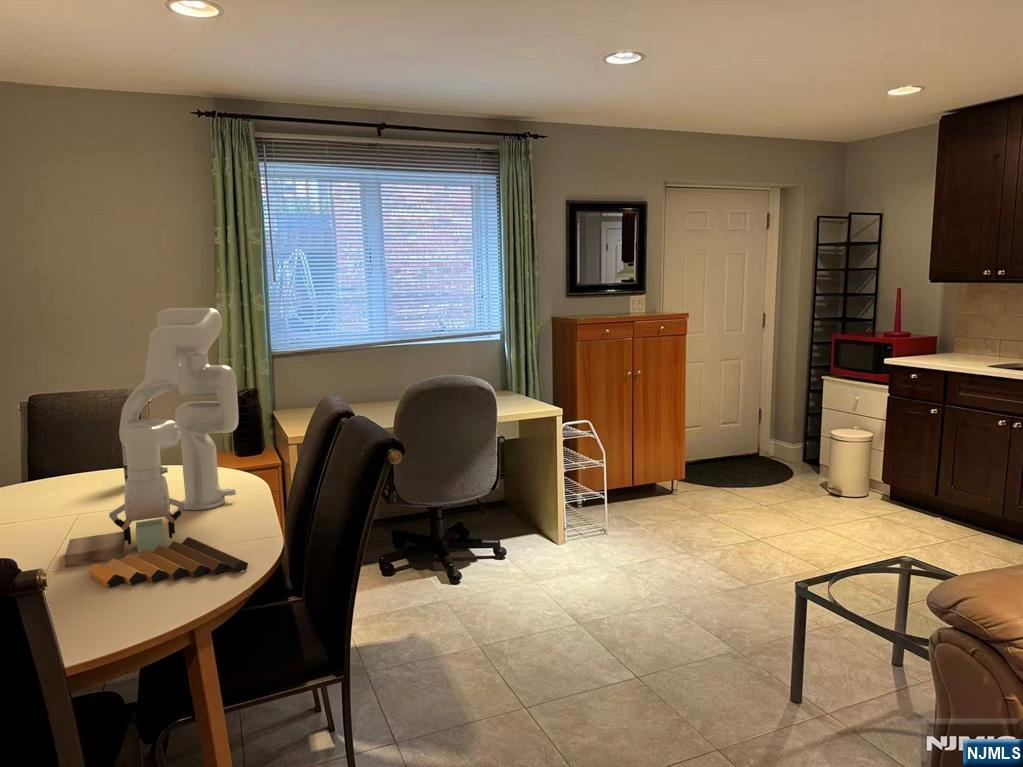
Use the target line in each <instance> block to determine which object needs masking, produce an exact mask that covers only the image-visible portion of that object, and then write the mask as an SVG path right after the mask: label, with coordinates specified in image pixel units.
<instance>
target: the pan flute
mask: <svg viewBox="0 0 1023 767" xmlns="http://www.w3.org/2000/svg"><path fill="white" fill-rule="evenodd" d="M248 566H249V563H248V562H247V561H244V560H242V559H241V558H238V557H235V556H233V555H231V554H228V553H226V552H225V551H222V550H219V549H218V548H215V547H212V546H210V545H208V544H206V543H204V542H201V541H200V540H198V539H195V538H192V537H189V536H187V537H186V538H185V539H184V540H183V541H182V542H178V541H175V540H173V541H172V542H171V543H170V544H169V545H168V546H167V547H166V546H164V547H163V546H161V545H159V546H158V547H157V548H156V549H153V551H151V550H145V549H144V550H143V551H141V552H139V554H138V555H137V556H136V555H134V554H131V553H128V554H127V555H126V556H124V558H122V560H120V559H112V560H109V561H108V563H107V564H105V565H103V564H100V563H98V562H97V563H94V565H93V566H92V567H91V568H90V569H89V570H88V573H89V575H90V576H91V578H93V579H94V578H95V579H94V580H96V581H97V580H98V581H97V582H99V583H100V584H103V585H104V586H105V585H106V587H107V588H109V589H112V587H113V588H115V586H116V587H119V586H122V585H123V582H124V583H127V584H128V585H130V586H132V587H133V586H135V585H139V584H141V583H144V582H145V580H146V581H148V580H149V583H150V582H151V583H152V584H156V583H159V582H162V581H165V580H166V577H167V578H168V577H169V579H170V578H171V579H170V580H172V581H173V582H175V581H178V579H179V580H181V578H182V579H184V577H185V578H186V577H187V576H191V577H192V578H194V579H197V577H198V578H200V577H204V576H206V575H207V574H208V573H209V574H211V573H212V574H211V575H213V574H214V575H213V576H215V575H218V576H220V575H219V574H221V575H223V574H225V573H224V572H226V573H228V571H230V570H231V571H230V572H232V571H234V572H236V573H237V572H240V571H242V570H245V571H247V570H248ZM228 569H229V570H228ZM246 569H247V570H246ZM234 572H233V573H234ZM222 573H223V574H222ZM236 573H235V574H236ZM240 573H241V572H240ZM237 574H238V573H237ZM164 579H165V580H164ZM161 580H162V581H161ZM158 581H159V582H158ZM121 584H122V585H121ZM118 585H119V586H118Z"/></svg>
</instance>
